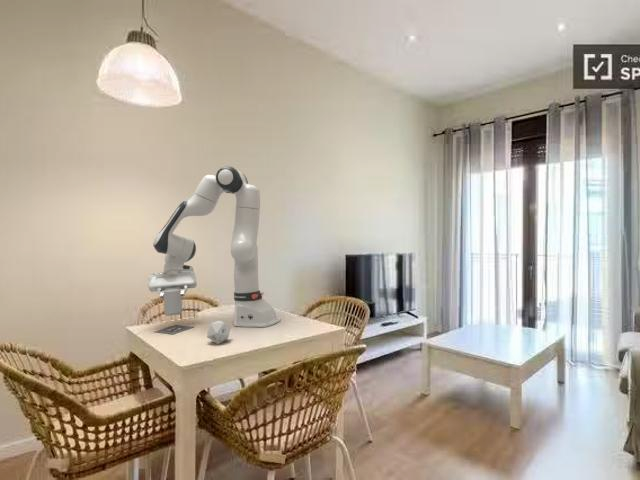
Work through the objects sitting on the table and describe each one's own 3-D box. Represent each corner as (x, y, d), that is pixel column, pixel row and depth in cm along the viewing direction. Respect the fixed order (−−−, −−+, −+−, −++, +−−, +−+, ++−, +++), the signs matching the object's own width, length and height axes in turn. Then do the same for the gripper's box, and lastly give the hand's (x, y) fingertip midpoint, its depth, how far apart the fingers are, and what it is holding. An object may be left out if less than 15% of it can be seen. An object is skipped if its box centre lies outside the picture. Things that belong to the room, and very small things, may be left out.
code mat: (194, 327, 162) (194, 326, 162) (172, 334, 151) (172, 334, 151) (175, 325, 168) (175, 324, 168) (153, 332, 157) (153, 331, 157)
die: (204, 348, 134) (215, 328, 131) (201, 331, 140) (212, 313, 138) (224, 350, 138) (236, 332, 136) (221, 335, 145) (232, 317, 142)
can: (175, 315, 154) (174, 287, 155) (160, 316, 155) (159, 288, 157) (186, 313, 161) (184, 286, 162) (171, 314, 163) (170, 287, 164)
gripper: (148, 269, 163) (145, 294, 154) (195, 265, 168) (195, 289, 159) (151, 278, 167) (148, 303, 158) (197, 274, 172) (197, 298, 163)
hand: (172, 296), depth 158 cm, fingers closed on can, 7 cm apart
